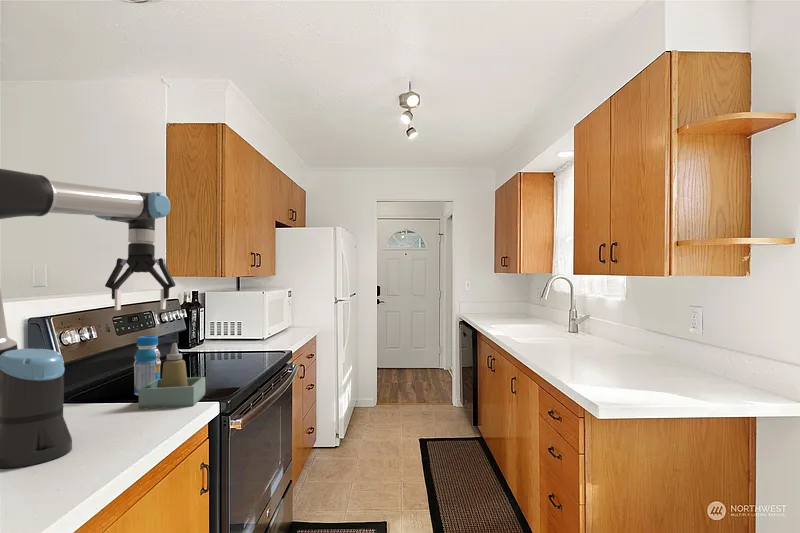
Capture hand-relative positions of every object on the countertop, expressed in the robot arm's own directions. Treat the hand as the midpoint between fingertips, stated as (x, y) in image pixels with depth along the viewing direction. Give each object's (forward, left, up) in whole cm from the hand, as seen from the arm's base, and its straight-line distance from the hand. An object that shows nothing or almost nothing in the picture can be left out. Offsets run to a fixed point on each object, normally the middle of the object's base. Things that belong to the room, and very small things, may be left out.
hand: (140, 309), depth 152 cm
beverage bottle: (+18, +4, -31) cm, 36 cm away
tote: (+3, -9, -30) cm, 32 cm away
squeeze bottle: (+3, -9, -30) cm, 31 cm away
